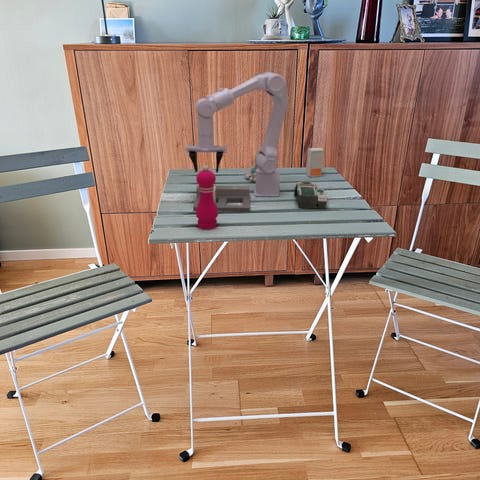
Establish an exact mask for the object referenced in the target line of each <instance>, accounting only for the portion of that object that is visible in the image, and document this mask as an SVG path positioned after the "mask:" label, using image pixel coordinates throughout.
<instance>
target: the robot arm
mask: <svg viewBox="0 0 480 480" xmlns="http://www.w3.org/2000/svg"><path fill="white" fill-rule="evenodd" d="M287 85H288V82H287V81H286V80H285V79H284V77H283V76H282V74H279V73H274V72H272V71H265V72H263V73H260V74H257V75H255V76H253V77H252V78H249V79H248V80H247V81H244V82H243V83H241V84H239V85H237V86H235V87H233V88H232V89H231V88H230V89H229V88H227V87H225V88H223V87H221V88H219V89H218V91H217V92H214V93H212V94H207V95H206V98H204V97H203V98H199V99H198V100H197V102H196V104H195V105H194V106H195V107H194V108H195V112H196V113H197V114H196V115H197V116H196V118H197V119H196V120H197V121H196V123H197V125H196V127H197V128H196V129H197V145H186V146H185V153H187V154H188V157H189V159H190V160H191V163H192V165H193V169H194V172H195V173H198V172H199V171H198V170H199V169H198V168H199V167H198V153H216V154H215V160H216V161H215V162H216V164H215V165H216V166H215V167H216V168H215V172H216V173H219V168H220V163H221V160H222V159H223V156H224V154H227V146H222V145H215V134H214V133H215V131H214V124H215V122H214V115H215V113H217V112H219V111H221V110H223V109H225V108H228V107H229V106H231V105H233V104H234V102H235V99H238V98H240V97H242V96H244V95H247V94H248V93H251V92H253V91H255V90H256V91H264V92H266V93H267V94H268V95H269V96H270V99H271V100H272V107H271V111H270V114H269V118H268V123H267V127H266V132H265V134H264V138H263V141H262V142H263V143H262V144H261V146H260V147H259V149H258V152H257V154H256V155H255V156H254V165H255V164H256V165H257V169H256V182H255V188H254V189H253V190H254V191H253V192H254V194H253V195H254V197H272V198H273V197H276V198H277V197H280V189H281V186H280V185H281V173H280V171H277V168H278V161H277V160H278V150H277V146H278V144H279V139H280V135H281V132H282V128H283V125H284V124H283V123H284V120H285V117H286V113H287V110H288V106H289V102H290V98H289V93H288V88H287Z"/></svg>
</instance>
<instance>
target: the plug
mask: <svg viewBox="0 0 480 480" xmlns="http://www.w3.org/2000/svg"><path fill="white" fill-rule="evenodd" d="M216 186H217V185H214V191H213V199H214V202H215V204H216V205H217V202H216Z"/></svg>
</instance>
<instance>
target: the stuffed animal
mask: <svg viewBox="0 0 480 480" xmlns="http://www.w3.org/2000/svg"><path fill="white" fill-rule="evenodd" d="M256 169H257V165H256V164H255V163H254V165H252V166H251V168H250V170H249V171H247V172H246V173H244V177H245V178H246V180H248V181H249V182H255V183H256Z"/></svg>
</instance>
